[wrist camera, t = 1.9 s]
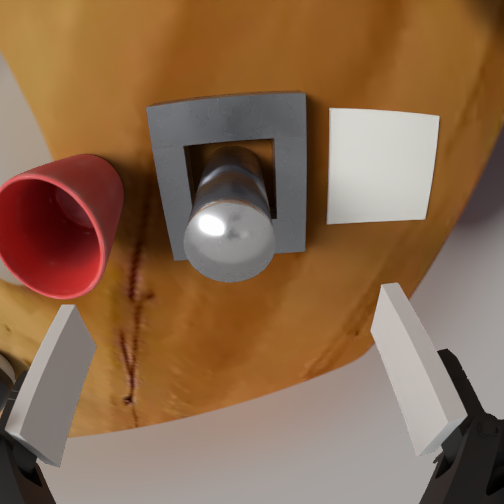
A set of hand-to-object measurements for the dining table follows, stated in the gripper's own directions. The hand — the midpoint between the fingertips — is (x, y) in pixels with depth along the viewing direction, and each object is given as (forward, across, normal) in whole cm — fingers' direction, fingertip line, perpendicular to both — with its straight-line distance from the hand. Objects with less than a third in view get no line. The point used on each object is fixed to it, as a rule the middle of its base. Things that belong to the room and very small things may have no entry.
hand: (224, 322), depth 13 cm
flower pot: (+18, -14, 0) cm, 23 cm away
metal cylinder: (+18, 0, 0) cm, 18 cm away
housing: (+18, 0, 0) cm, 18 cm away
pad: (+18, +14, 0) cm, 23 cm away
